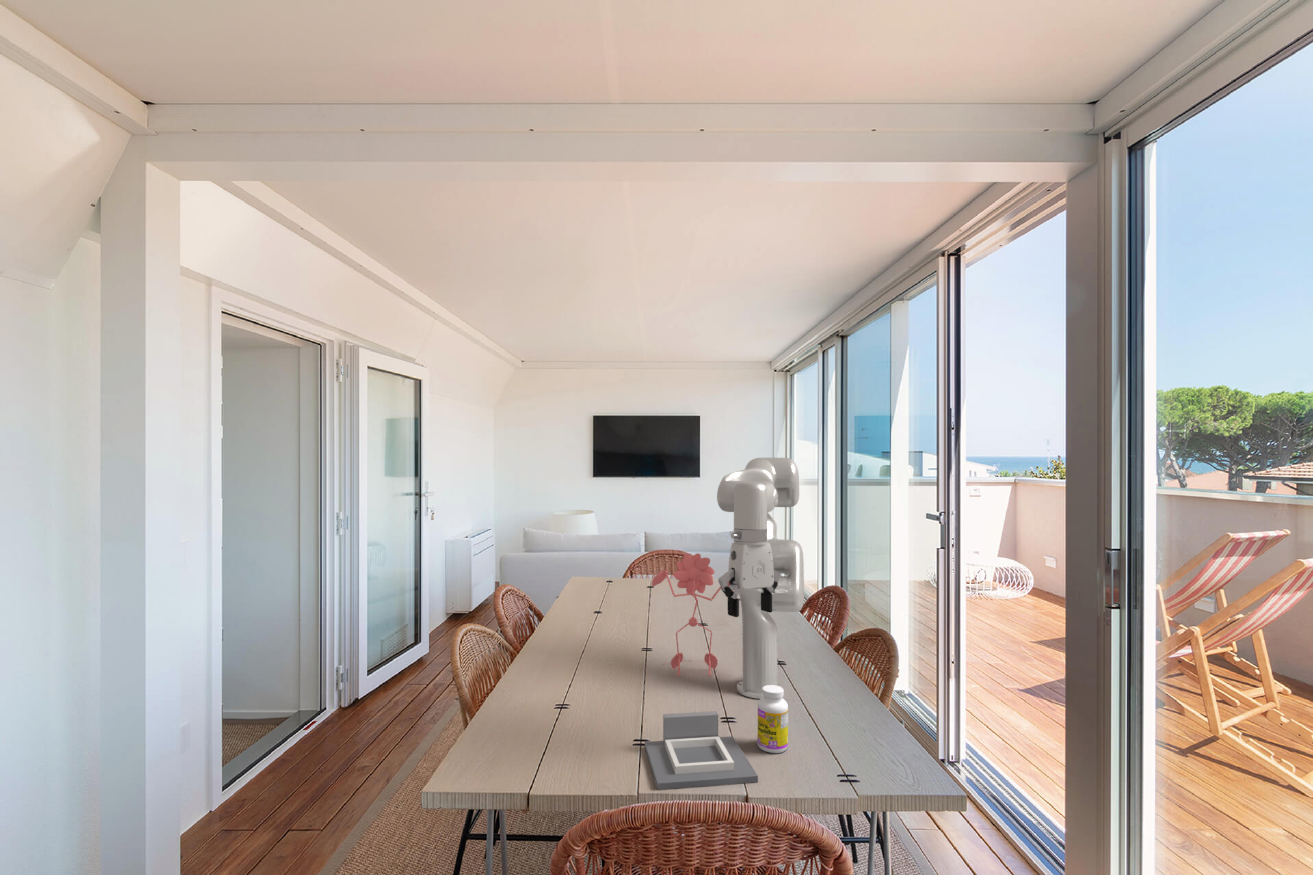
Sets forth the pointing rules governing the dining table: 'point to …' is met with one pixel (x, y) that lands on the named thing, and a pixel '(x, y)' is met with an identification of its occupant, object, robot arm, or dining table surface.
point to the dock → (696, 754)
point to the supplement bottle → (772, 720)
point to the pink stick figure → (692, 578)
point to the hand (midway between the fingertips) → (750, 613)
